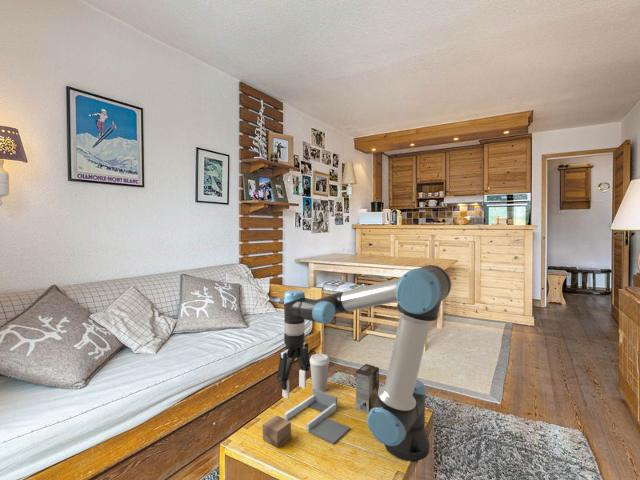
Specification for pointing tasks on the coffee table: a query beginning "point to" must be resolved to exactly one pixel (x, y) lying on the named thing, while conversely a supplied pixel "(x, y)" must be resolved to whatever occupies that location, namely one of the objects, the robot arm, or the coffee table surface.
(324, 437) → the slate coaster
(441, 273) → the robot arm
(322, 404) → the channel
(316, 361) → the coffee cup
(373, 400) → the coffee box
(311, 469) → the coffee table surface
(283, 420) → the walnut block
